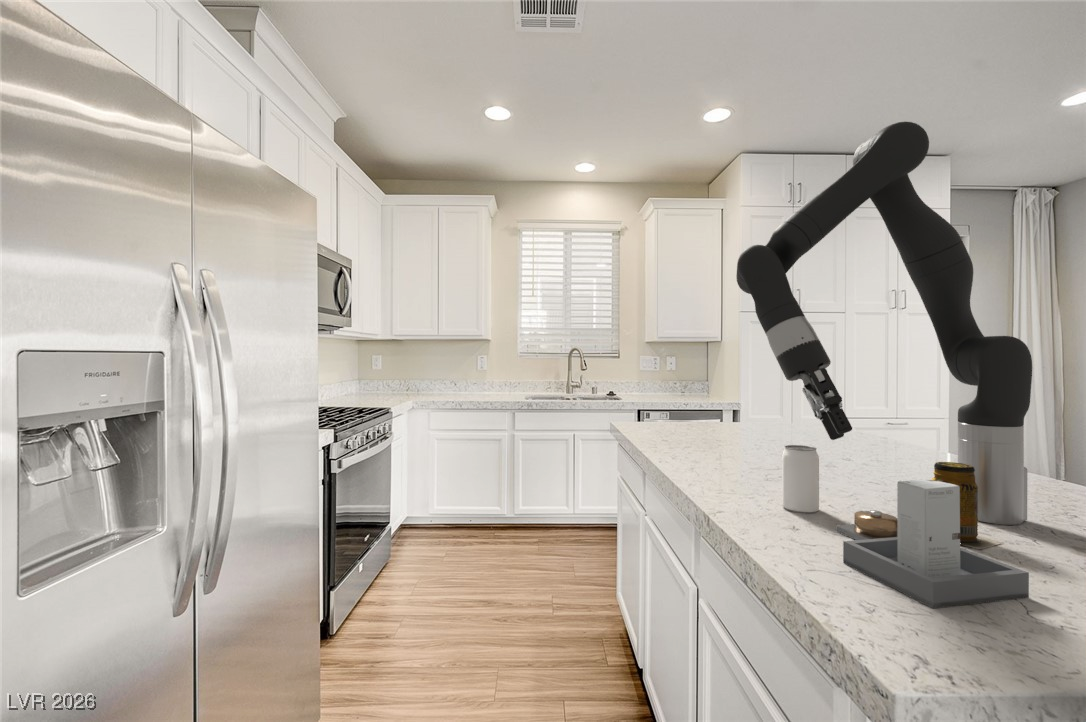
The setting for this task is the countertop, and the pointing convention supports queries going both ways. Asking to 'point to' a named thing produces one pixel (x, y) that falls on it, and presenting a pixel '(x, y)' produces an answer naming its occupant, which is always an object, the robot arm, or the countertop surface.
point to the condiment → (964, 501)
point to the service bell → (870, 526)
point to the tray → (972, 586)
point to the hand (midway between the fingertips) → (841, 435)
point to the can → (800, 479)
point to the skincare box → (929, 527)
